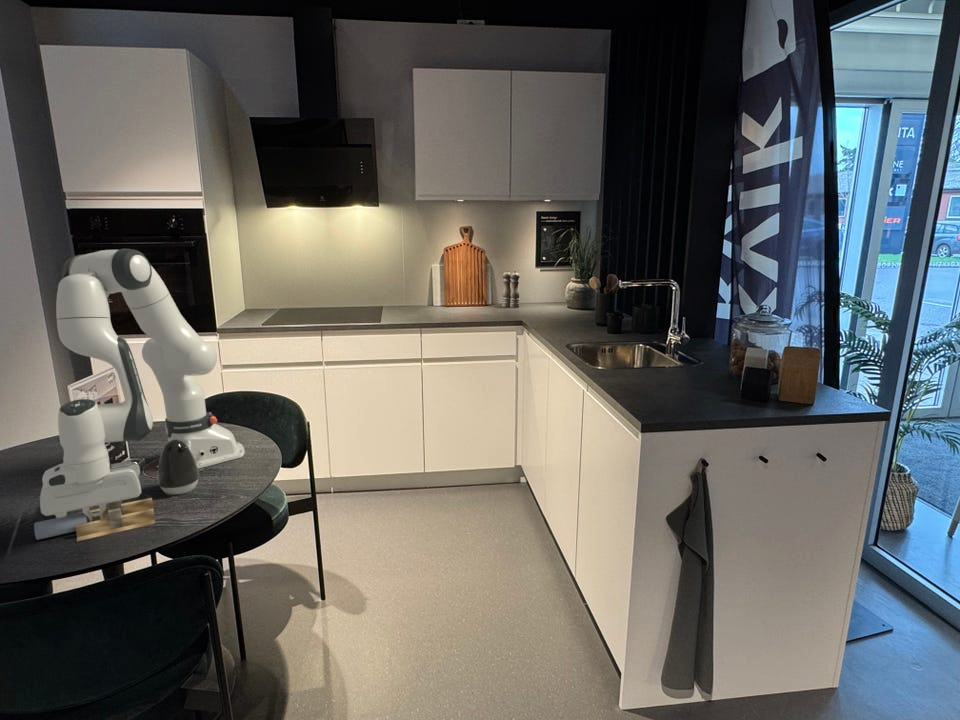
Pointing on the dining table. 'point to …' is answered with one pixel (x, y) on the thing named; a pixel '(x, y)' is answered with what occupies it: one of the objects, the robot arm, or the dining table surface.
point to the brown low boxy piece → (118, 519)
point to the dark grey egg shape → (177, 468)
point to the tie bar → (60, 515)
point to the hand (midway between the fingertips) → (96, 521)
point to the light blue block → (59, 525)
